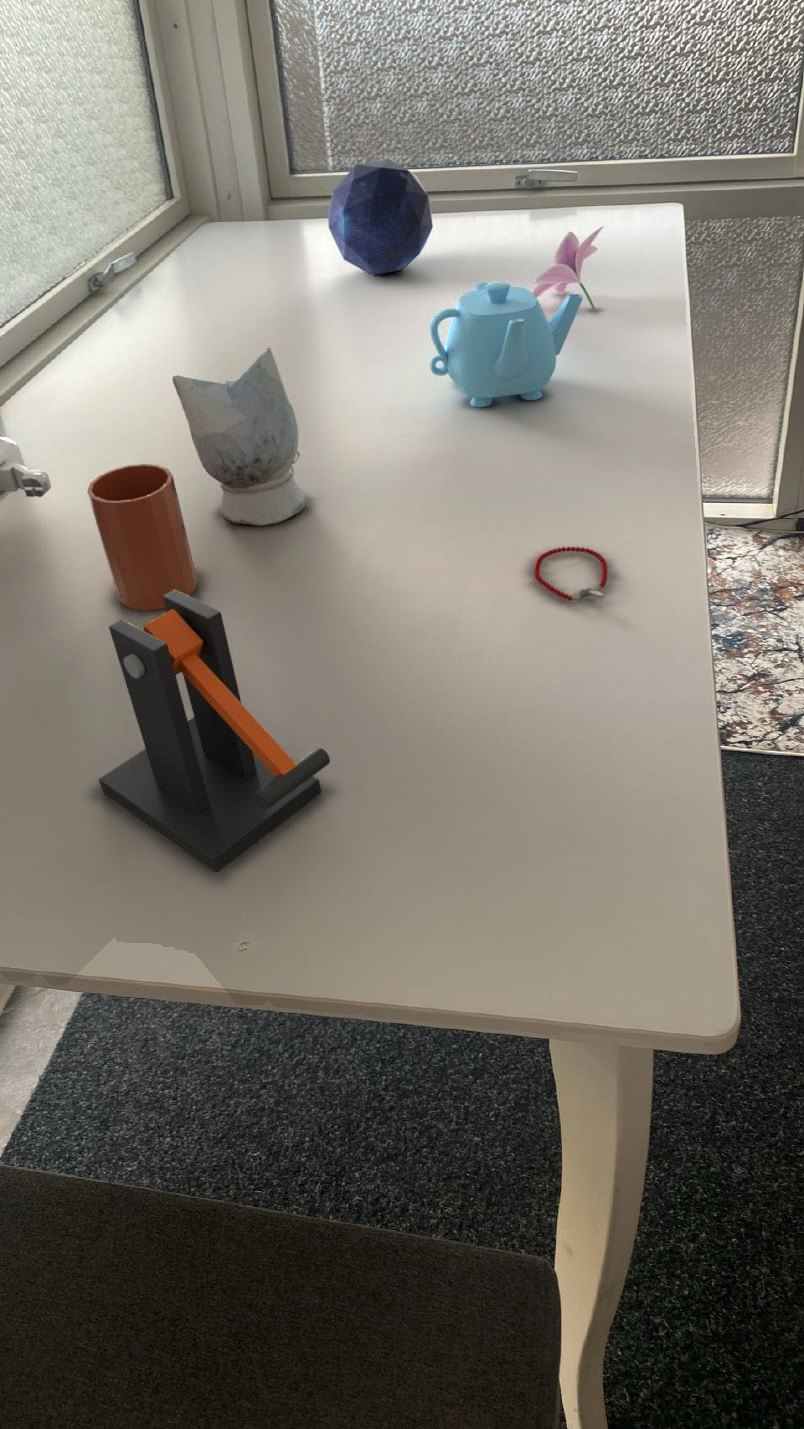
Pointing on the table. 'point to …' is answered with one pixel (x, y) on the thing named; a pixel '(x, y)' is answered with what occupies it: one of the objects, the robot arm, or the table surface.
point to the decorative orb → (380, 217)
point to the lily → (567, 265)
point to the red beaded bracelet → (583, 592)
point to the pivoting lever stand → (192, 748)
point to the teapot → (501, 342)
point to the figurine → (247, 441)
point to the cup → (143, 534)
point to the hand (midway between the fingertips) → (20, 510)
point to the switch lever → (234, 711)
